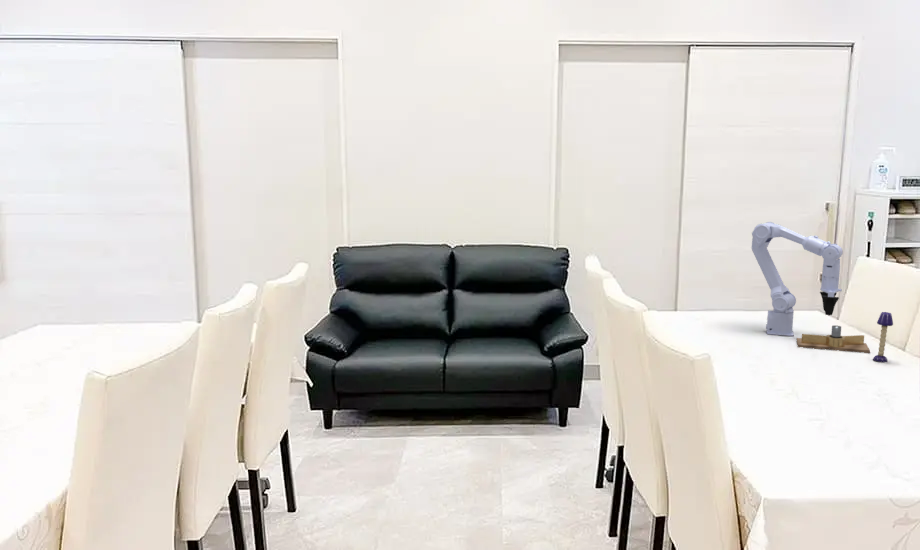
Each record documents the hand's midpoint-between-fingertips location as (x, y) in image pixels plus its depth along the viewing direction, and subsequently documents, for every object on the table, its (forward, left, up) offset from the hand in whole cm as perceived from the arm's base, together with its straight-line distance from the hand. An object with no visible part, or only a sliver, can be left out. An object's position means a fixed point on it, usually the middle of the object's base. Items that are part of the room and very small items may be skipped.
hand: (827, 312), depth 273 cm
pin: (+2, -12, -9) cm, 15 cm away
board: (+1, -10, -10) cm, 15 cm away
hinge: (+1, -11, -9) cm, 14 cm away
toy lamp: (+15, -25, -11) cm, 31 cm away
